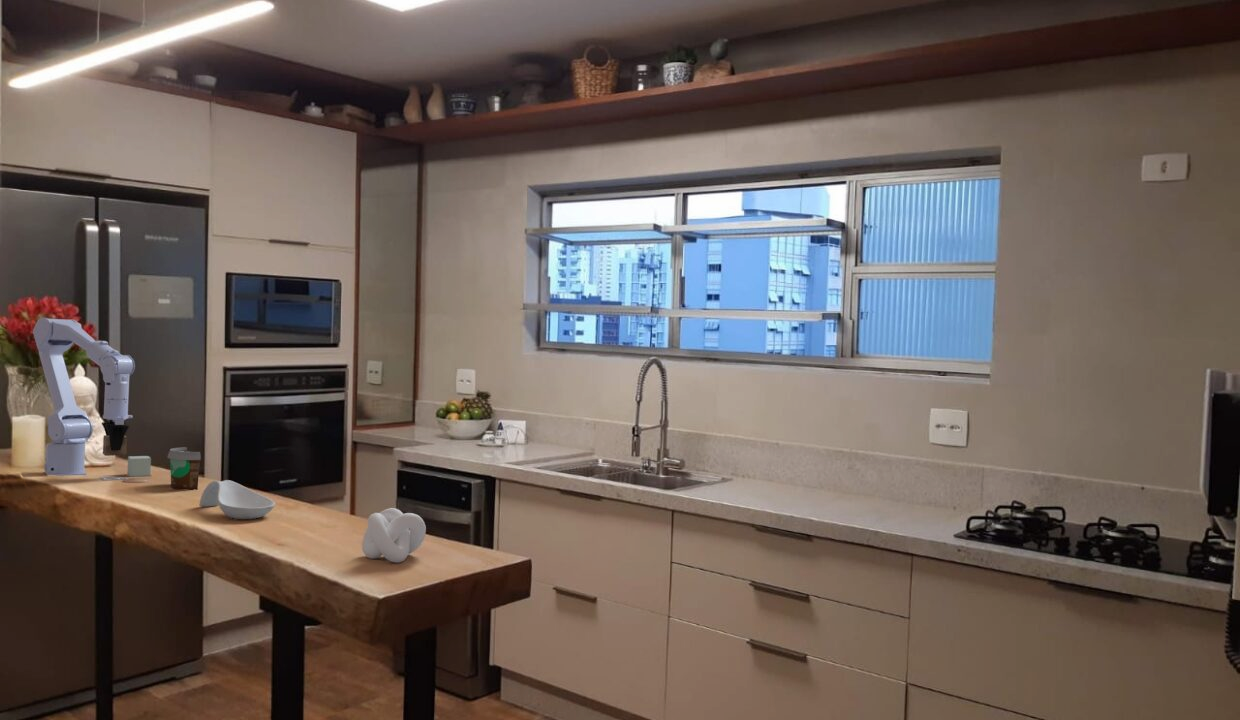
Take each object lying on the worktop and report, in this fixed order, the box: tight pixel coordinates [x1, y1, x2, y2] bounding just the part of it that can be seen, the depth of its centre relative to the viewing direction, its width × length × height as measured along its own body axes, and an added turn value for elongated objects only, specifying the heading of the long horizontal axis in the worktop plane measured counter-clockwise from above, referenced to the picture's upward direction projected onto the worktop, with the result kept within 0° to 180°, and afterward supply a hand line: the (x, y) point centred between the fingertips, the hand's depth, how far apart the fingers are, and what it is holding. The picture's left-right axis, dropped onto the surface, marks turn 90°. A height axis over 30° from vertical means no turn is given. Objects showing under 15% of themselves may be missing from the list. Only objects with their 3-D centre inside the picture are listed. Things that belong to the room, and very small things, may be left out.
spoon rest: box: [199, 479, 276, 520], centre depth 207 cm, size 24×12×7 cm, turn 51°
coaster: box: [122, 477, 153, 484], centre depth 244 cm, size 7×7×1 cm
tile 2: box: [125, 473, 153, 478], centre depth 254 cm, size 6×6×1 cm
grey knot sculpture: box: [361, 507, 427, 564], centre depth 172 cm, size 11×12×9 cm
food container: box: [167, 446, 202, 491], centre depth 239 cm, size 12×6×10 cm, turn 42°
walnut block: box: [102, 434, 128, 457], centre depth 246 cm, size 5×5×5 cm
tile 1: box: [99, 476, 127, 482], centre depth 246 cm, size 6×6×1 cm
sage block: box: [126, 455, 152, 478], centre depth 254 cm, size 5×5×5 cm
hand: (114, 449), depth 246 cm, fingers closed on walnut block, 5 cm apart
